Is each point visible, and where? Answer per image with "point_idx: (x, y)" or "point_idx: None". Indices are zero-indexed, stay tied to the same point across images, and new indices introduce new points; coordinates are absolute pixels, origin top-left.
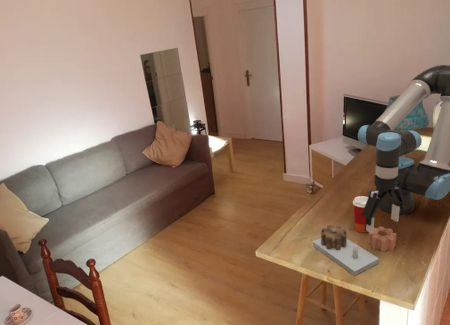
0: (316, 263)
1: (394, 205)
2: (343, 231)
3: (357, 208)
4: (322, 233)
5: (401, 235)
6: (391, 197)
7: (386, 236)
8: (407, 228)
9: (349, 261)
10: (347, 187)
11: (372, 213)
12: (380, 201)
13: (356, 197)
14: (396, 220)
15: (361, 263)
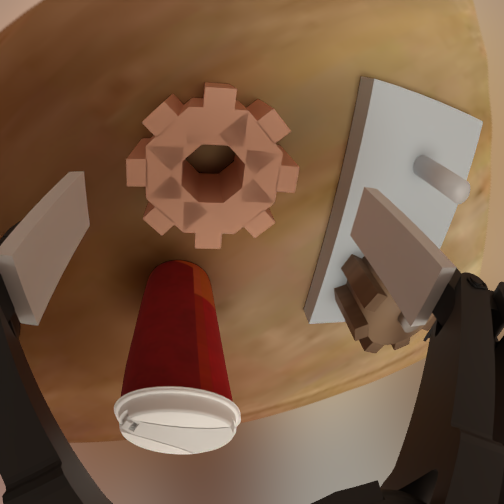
0: (465, 237)
1: (28, 302)
2: (384, 299)
3: (231, 396)
4: (430, 325)
5: (67, 144)
6: (68, 456)
7: (226, 136)
8: (7, 172)
9: (452, 165)
10: (55, 419)
11: (490, 309)
12: (500, 447)
13: (185, 453)
14: (80, 181)
15: (441, 123)
